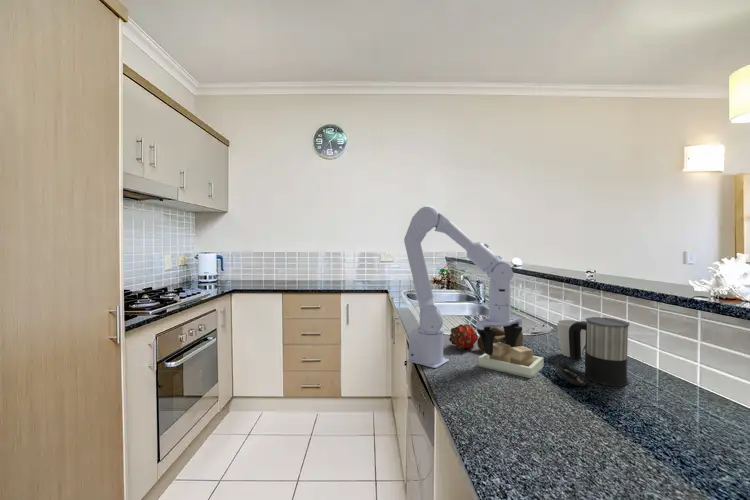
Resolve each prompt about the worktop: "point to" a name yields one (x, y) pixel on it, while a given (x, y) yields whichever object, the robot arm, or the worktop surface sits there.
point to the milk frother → (598, 352)
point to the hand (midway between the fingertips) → (499, 352)
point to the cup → (564, 336)
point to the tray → (512, 366)
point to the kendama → (500, 338)
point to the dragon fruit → (463, 336)
